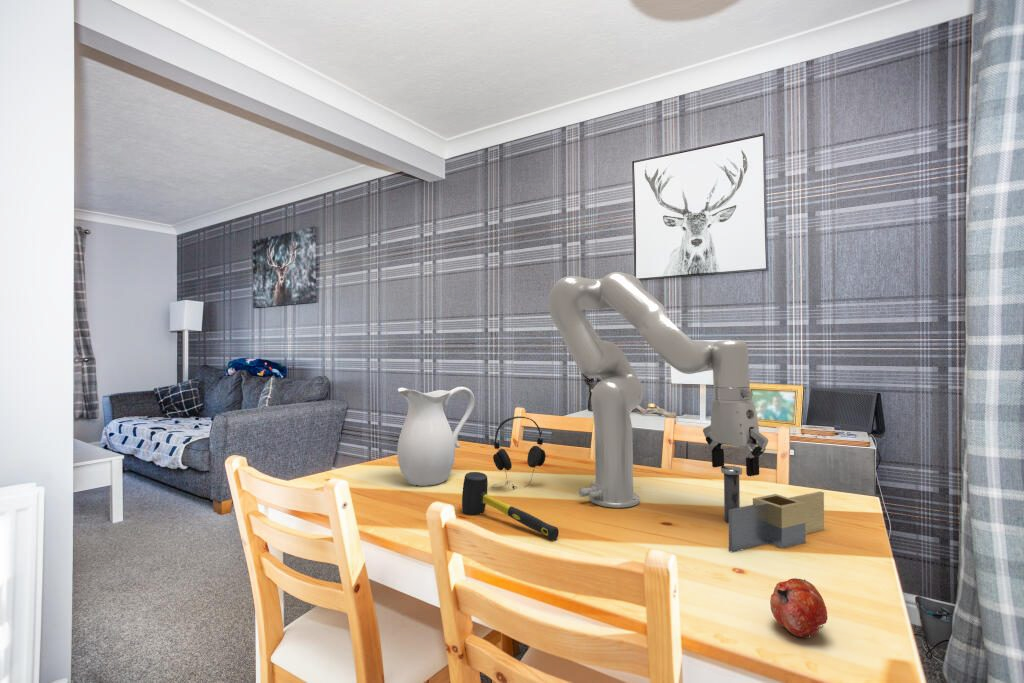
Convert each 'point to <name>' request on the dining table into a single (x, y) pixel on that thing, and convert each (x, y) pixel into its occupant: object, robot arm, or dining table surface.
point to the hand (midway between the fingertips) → (735, 470)
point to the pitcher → (429, 436)
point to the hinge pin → (731, 489)
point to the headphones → (534, 455)
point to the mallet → (498, 505)
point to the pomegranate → (798, 607)
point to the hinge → (776, 521)
